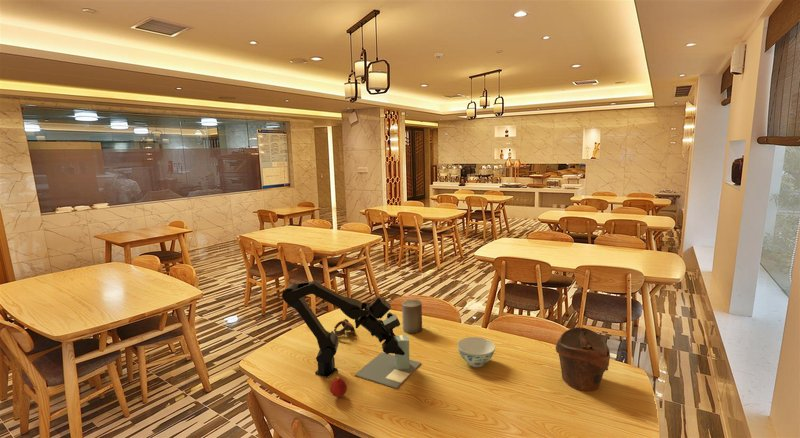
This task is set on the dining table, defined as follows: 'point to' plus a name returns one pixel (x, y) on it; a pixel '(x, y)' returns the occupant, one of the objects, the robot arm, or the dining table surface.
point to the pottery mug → (346, 326)
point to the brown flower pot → (582, 358)
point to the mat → (386, 371)
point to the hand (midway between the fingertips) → (402, 348)
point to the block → (403, 360)
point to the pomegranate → (338, 387)
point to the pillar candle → (412, 316)
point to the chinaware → (476, 350)
